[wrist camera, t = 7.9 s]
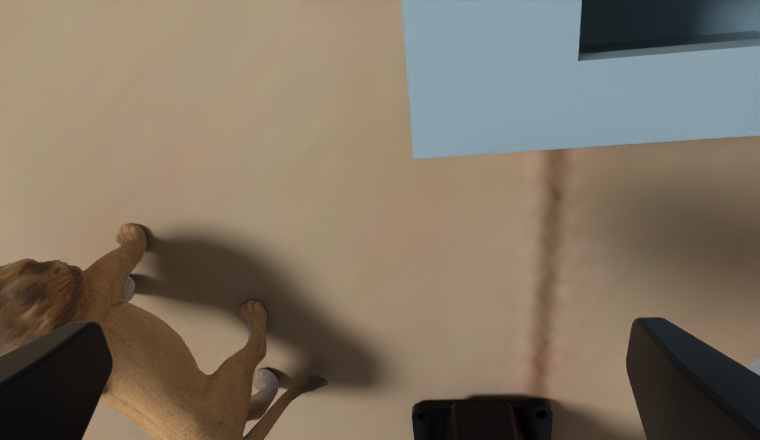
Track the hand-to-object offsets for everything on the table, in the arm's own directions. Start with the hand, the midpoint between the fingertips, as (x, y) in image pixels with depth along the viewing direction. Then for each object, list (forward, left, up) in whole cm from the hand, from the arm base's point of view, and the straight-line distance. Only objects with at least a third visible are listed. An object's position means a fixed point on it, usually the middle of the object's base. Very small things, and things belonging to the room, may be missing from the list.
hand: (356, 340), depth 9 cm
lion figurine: (-7, +11, -13) cm, 18 cm away
